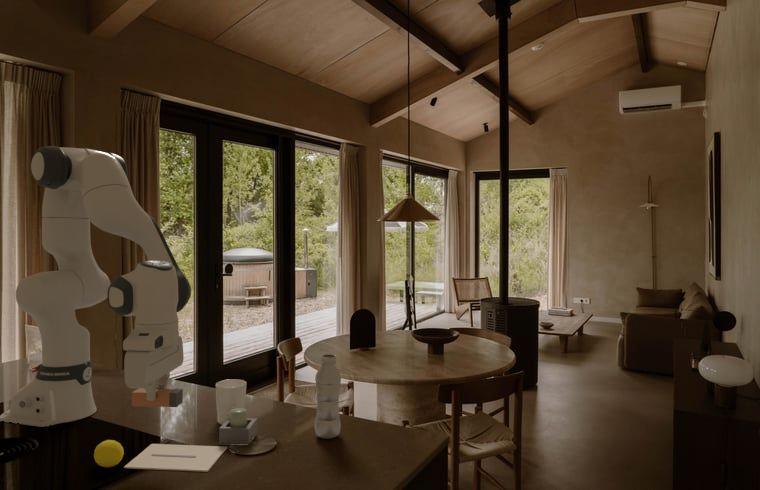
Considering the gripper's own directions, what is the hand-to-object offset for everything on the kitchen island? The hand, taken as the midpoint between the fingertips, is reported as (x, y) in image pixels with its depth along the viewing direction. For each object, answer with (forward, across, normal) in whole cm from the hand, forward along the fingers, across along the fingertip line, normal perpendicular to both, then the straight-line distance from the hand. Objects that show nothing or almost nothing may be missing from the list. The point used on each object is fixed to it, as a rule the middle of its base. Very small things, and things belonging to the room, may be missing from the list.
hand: (157, 396), depth 117 cm
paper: (+14, 0, +5) cm, 14 cm away
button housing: (+14, -11, +15) cm, 23 cm away
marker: (+2, 0, 0) cm, 2 cm away
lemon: (+14, +5, -8) cm, 17 cm away
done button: (+12, -11, +15) cm, 22 cm away
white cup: (+14, -23, +9) cm, 28 cm away
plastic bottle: (+14, -15, +36) cm, 41 cm away
